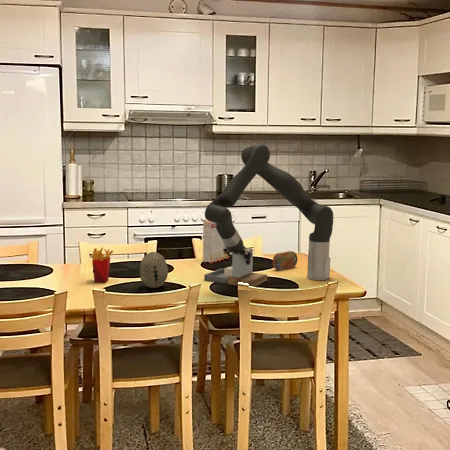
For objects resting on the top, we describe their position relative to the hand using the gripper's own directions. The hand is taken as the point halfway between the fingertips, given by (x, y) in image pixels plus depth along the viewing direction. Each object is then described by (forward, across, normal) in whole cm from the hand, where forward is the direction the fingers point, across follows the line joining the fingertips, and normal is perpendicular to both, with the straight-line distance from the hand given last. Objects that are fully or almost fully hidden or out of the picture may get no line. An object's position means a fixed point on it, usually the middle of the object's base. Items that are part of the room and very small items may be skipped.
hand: (244, 262), depth 268 cm
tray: (+4, +9, +7) cm, 12 cm away
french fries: (-20, +48, +32) cm, 61 cm away
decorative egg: (-17, +25, +28) cm, 42 cm away
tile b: (0, +4, +7) cm, 8 cm away
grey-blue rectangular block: (+2, 0, +5) cm, 5 cm away
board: (+5, -3, +7) cm, 9 cm away
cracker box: (+26, +31, -14) cm, 43 cm away
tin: (+29, -5, -17) cm, 34 cm away
